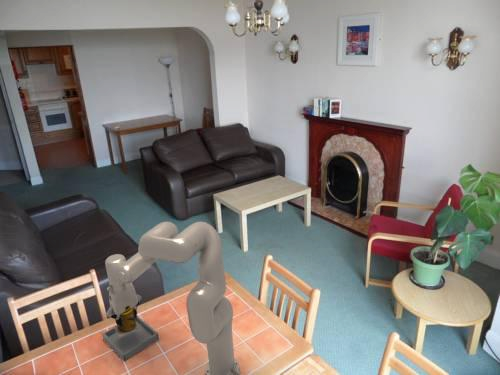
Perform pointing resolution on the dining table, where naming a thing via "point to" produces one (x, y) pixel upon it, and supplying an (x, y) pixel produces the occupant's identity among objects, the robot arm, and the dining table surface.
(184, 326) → the dining table surface
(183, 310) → the dining table surface
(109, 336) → the tray
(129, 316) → the condiment
